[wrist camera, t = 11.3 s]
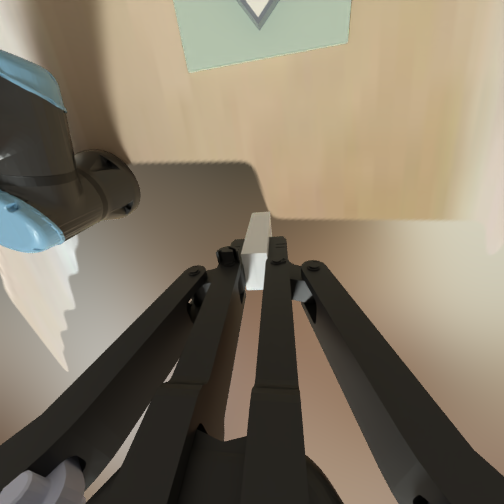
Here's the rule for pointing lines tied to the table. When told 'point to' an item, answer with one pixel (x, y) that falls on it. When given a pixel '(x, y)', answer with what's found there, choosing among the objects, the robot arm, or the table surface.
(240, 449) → the robot arm
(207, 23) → the mat
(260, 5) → the slate picture frame
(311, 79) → the table surface
